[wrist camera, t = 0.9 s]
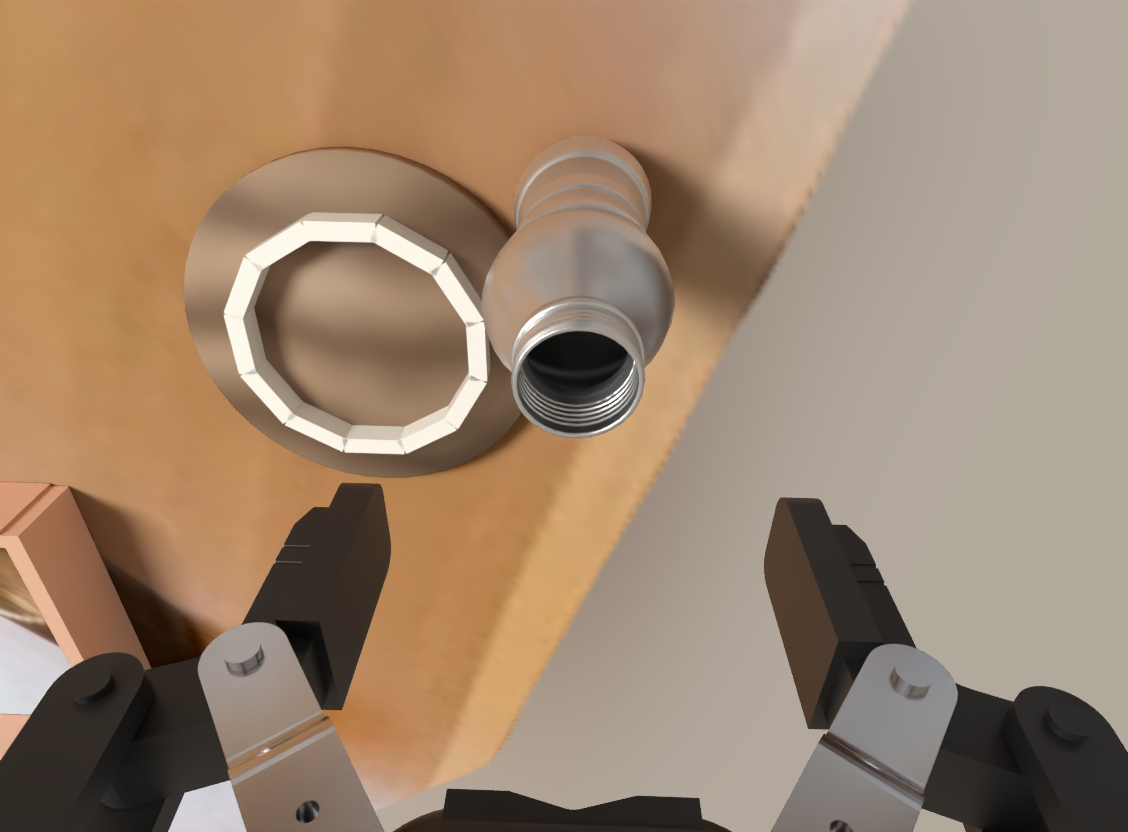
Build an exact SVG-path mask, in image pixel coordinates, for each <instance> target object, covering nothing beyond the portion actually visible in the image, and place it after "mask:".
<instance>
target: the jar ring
mask: <svg viewBox="0 0 1128 832" xmlns="http://www.w3.org/2000/svg"><path fill="white" fill-rule="evenodd" d="M309 241H335V242H372V243H375V244H377V245H379V246H381V247H383V248H384V249H386V250H388V251H390V252H392V253H393V254H395V255H397V256H399V257H401V258H402V259H404V260H406V261H408V262H410V263H411V264H413V265H415V266H417V267H419V268H421V269H422V270H424V271H426V272H428V273H430V274H431V275H432V276H433V277H434V279H435V280H436V282H437V283H438V285H439V286H440V288H441V289H442V291H443V292H444V294H445V295H446V297H447V298H448V299H449V301H450V302H451V304H452V305H453V307H454V308H455V310H456V311H457V313H458V314H459V316H460V317H461V319H462V320H463V322H464V323H465V324H466V334H467V350H468V366H469V373H468V374H467V376H466V377H465V379H464V381H463V382H462V384H461V386H460V387H459V389H458V391H457V392H456V394H455V396H454V397H453V399H452V401H451V402H450V404H449V406H447V407H444V408H442V409H440V410H438V411H436V412H434V413H432V414H430V415H428V416H426V417H424V418H422V419H420V420H418V421H416V422H413V423H411V424H409V425H407V426H405V427H401V426H368V425H351V424H349V423H347V422H345V421H343V420H341V419H339V418H337V417H335V416H333V415H331V414H328V413H326V412H324V411H322V410H320V409H318V408H316V407H314V406H312V405H310V404H307V403H305V402H303V401H302V400H301V399H300V398H299V396H298V395H297V394H296V393H295V392H294V391H293V390H292V388H291V387H290V386H289V385H288V384H287V383H286V381H285V380H284V379H283V378H282V377H281V376H280V374H279V373H278V372H277V371H276V370H275V369H274V368H273V366H272V365H271V364H270V363H269V362H268V361H267V359H266V356H265V352H264V348H263V343H262V339H261V335H260V331H259V326H258V322H257V318H256V314H255V309H254V307H255V304H256V301H257V299H258V296H259V294H260V291H261V289H262V286H263V283H264V281H265V278H266V276H267V273H268V271H269V268H270V265H271V264H272V263H274V262H276V261H277V260H279V259H281V258H282V257H284V256H286V255H287V254H289V253H290V252H292V251H294V250H295V249H297V248H299V247H300V246H302V245H304V244H305V243H307V242H309ZM447 253H448V250H446V249H445V248H443V247H441V246H439V245H438V244H436V243H434V242H432V241H430V240H429V239H427V238H425V237H423V236H422V235H420V234H418V233H416V232H415V231H413V230H411V229H409V228H408V227H406V226H404V225H402V224H400V223H399V222H397V221H395V220H393V219H392V218H390V217H388V216H386V215H385V216H384V217H383V215H382V214H361V213H323V212H312V213H311V214H310V213H309V214H307V215H306V216H304V217H302V218H301V219H299V220H298V221H296V222H294V223H293V224H291V225H289V226H288V227H286V228H285V229H283V230H281V231H280V232H278V233H277V234H275V235H273V236H272V237H270V238H268V239H267V240H265V241H264V242H262V243H260V244H259V245H257V246H256V247H255V248H253V249H252V250H251V251H250V252H249V253H247V254H246V256H244V258H243V260H242V263H241V266H240V269H239V271H238V274H237V277H236V280H235V282H234V285H233V288H232V291H231V293H230V296H229V299H228V302H227V304H226V307H225V310H224V313H225V314H224V319H225V323H226V327H227V331H228V334H229V338H230V342H231V346H232V350H233V353H234V357H235V361H236V365H237V369H238V372H239V374H242V375H241V376H240V377H241V378H242V379H243V380H244V381H245V382H246V383H247V384H248V386H249V387H250V388H251V389H252V390H253V391H254V392H255V393H256V394H257V396H258V397H259V398H260V399H261V400H262V401H263V402H264V403H265V404H266V406H267V407H268V408H269V409H270V410H271V411H272V412H273V413H274V414H275V416H276V417H277V418H278V419H279V420H280V421H281V422H282V423H285V422H286V424H285V425H286V426H288V427H290V428H292V429H294V430H296V431H298V432H301V433H303V434H305V435H307V436H309V437H311V438H314V439H316V440H318V441H320V442H322V443H324V444H326V445H329V446H331V447H333V448H335V449H337V450H339V451H342V452H343V450H344V451H345V452H346V453H379V454H405V452H406V454H407V453H410V452H412V451H414V450H416V449H418V448H420V447H422V446H424V445H427V444H429V443H431V442H433V441H435V440H437V439H439V438H441V437H444V436H446V435H448V434H450V433H452V432H454V431H456V430H457V429H458V428H459V427H460V425H461V424H462V422H463V420H464V419H465V417H466V416H467V414H468V413H469V411H470V409H471V408H472V406H473V405H474V403H475V401H476V400H477V398H478V397H479V395H480V393H481V392H482V390H483V389H484V387H485V385H486V384H487V380H488V376H489V372H490V348H489V337H488V334H487V331H486V329H485V326H484V321H483V315H482V300H481V298H480V297H479V295H478V294H477V292H476V291H475V289H474V288H473V286H472V285H471V283H470V282H469V280H468V279H467V277H466V276H465V274H464V272H463V271H462V269H461V268H460V266H459V265H458V263H457V262H456V260H455V259H454V257H453V256H452V254H451V253H449V254H447Z"/></svg>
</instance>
